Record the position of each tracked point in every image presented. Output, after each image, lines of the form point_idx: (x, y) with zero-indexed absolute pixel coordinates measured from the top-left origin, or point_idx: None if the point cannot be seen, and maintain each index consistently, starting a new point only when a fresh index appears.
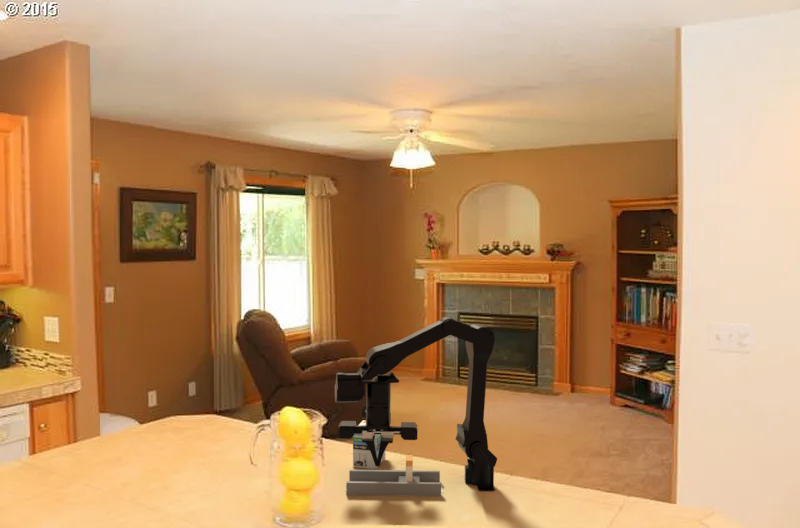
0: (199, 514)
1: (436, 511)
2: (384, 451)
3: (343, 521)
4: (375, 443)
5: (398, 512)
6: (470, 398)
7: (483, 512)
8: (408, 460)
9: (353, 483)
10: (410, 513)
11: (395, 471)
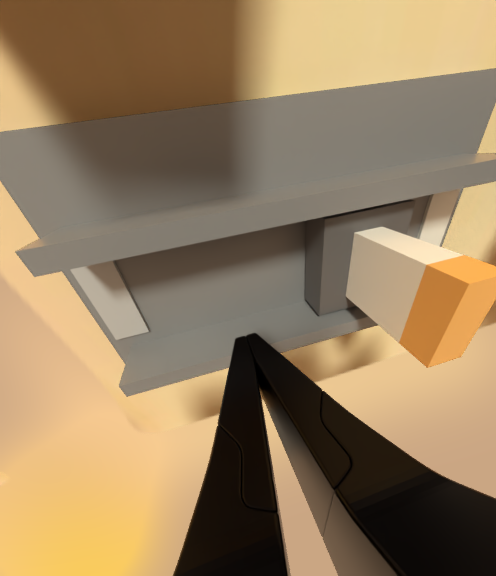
0: None
1: (380, 329)
2: None
3: (191, 423)
4: (287, 562)
5: (299, 358)
6: None
7: None
8: (440, 361)
9: (157, 386)
10: (325, 354)
11: (318, 217)
